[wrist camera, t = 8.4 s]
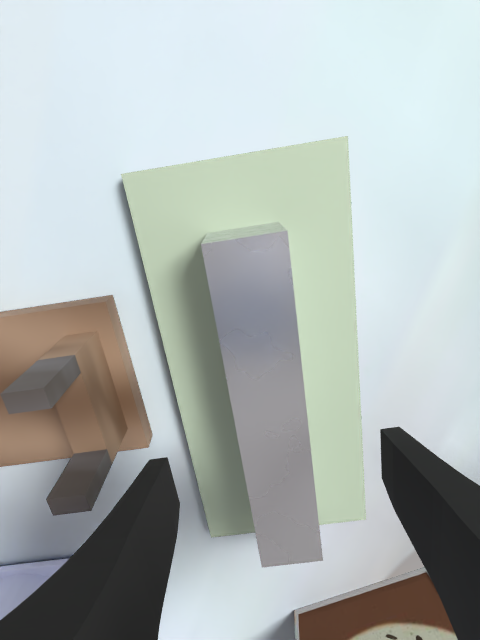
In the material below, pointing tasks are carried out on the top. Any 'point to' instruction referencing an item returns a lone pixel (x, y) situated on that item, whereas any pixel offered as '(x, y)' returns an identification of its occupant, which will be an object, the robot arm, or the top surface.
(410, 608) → the food container
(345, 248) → the mat
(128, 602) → the robot arm
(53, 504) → the stand
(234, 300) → the rail
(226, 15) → the top surface
